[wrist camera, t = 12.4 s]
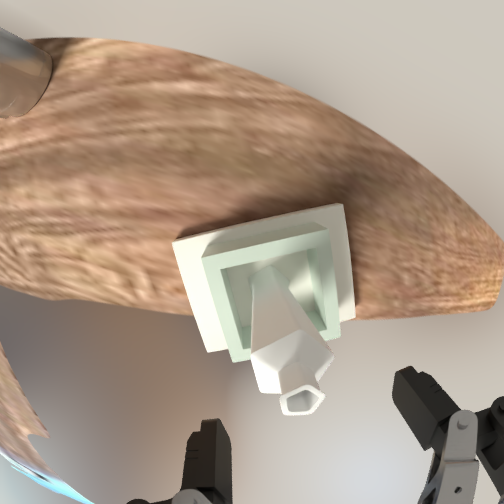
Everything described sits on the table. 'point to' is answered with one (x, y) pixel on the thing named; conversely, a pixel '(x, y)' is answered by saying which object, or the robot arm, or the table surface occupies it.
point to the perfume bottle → (285, 345)
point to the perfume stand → (259, 257)
